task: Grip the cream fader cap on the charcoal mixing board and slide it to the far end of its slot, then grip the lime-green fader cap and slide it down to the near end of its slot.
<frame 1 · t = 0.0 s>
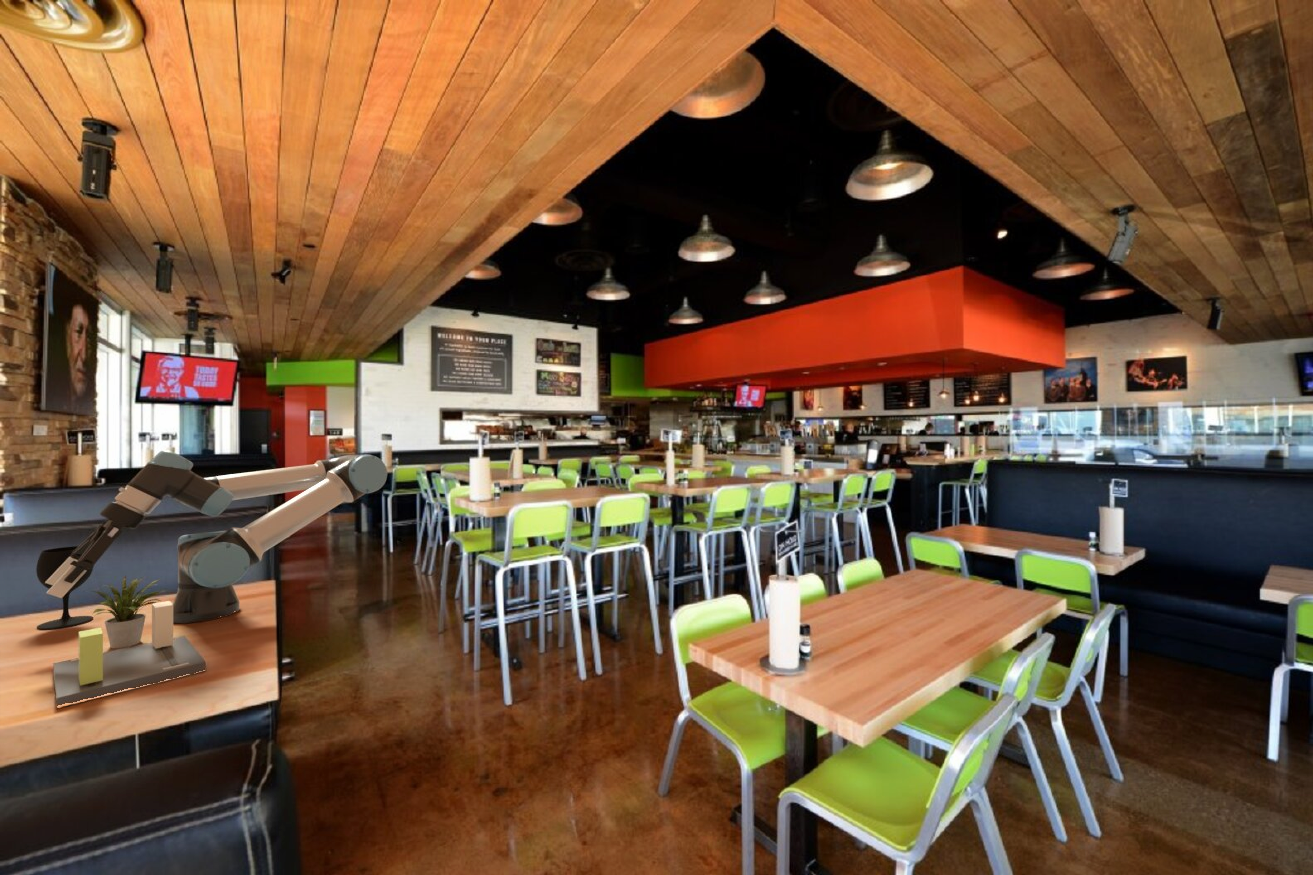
hand: (52, 590, 122), 15 cm above the table, tool tilted 35°, fingers open, 13 cm apart
house plant: (121, 646, 129), on the table
fader cream: (162, 624, 123), point 7 cm above the table, slide at -7.0 cm
wine glass: (65, 624, 146), on the table
mixing board: (129, 671, 114), on the table
fader lime: (90, 655, 105), point 7 cm above the table, slide at 7.0 cm
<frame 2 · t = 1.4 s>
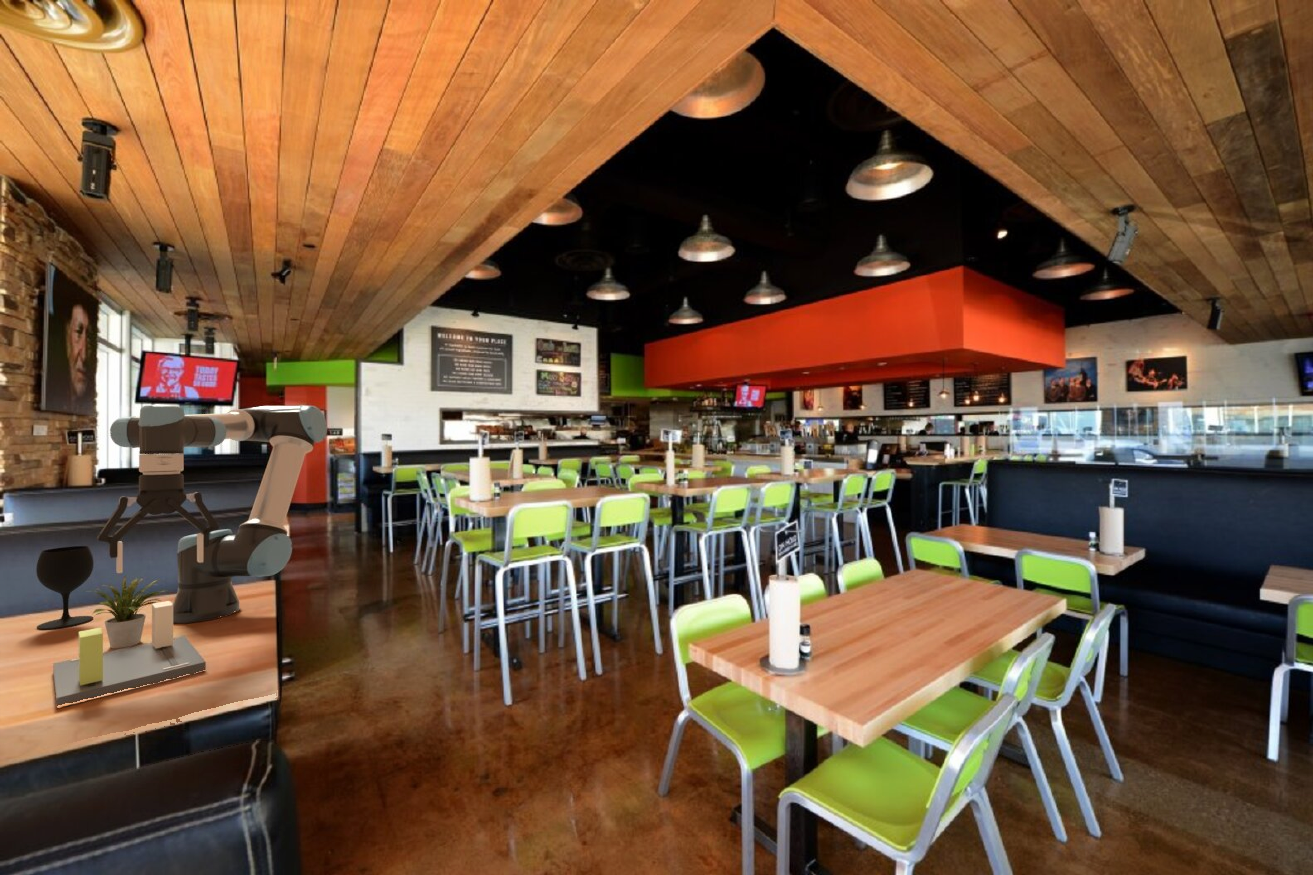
hand: (161, 566, 123), 20 cm above the table, tool pointing down, fingers open, 13 cm apart
nothing on the table moved.
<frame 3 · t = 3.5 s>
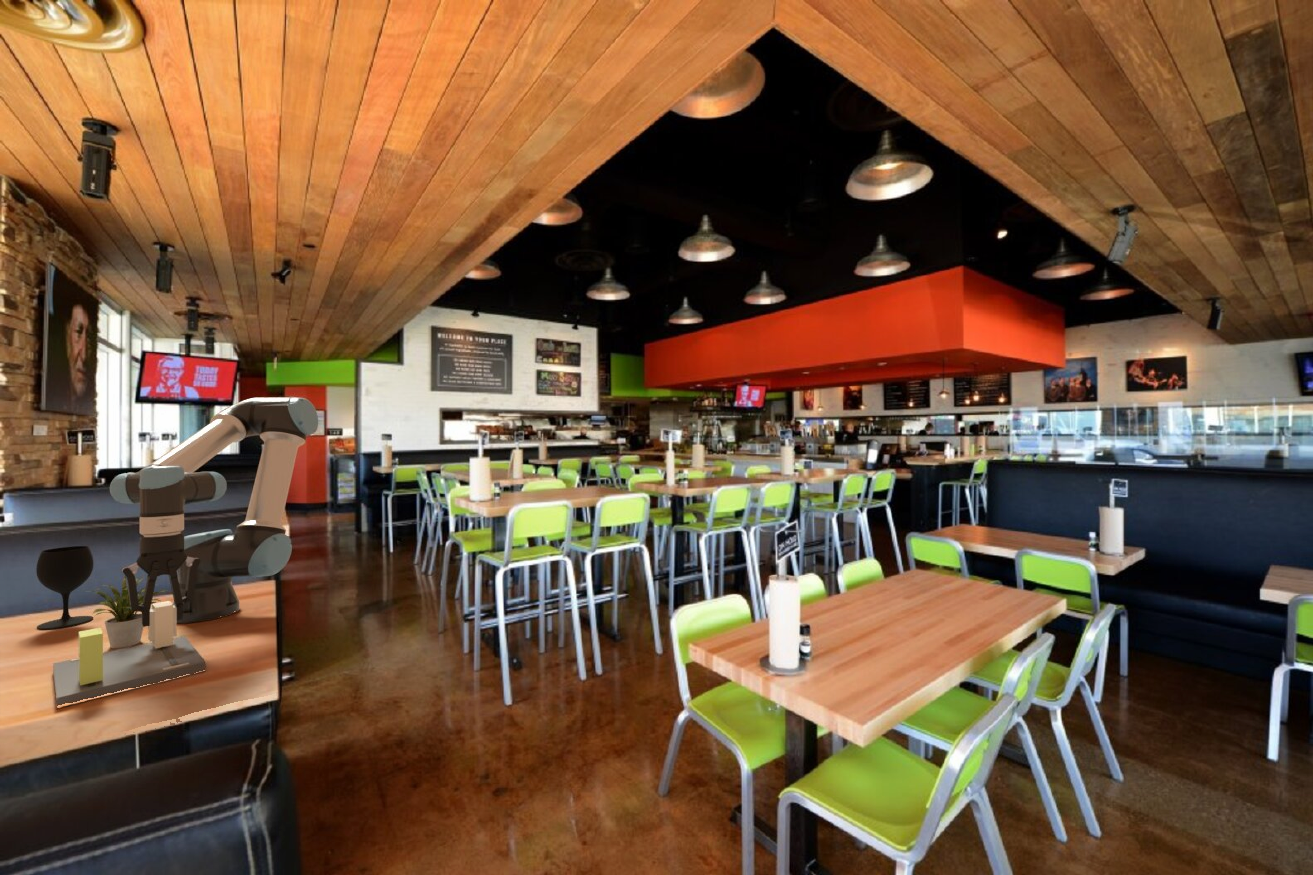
hand: (162, 637, 123), 4 cm above the table, tool pointing down, fingers closed on fader cream, 3 cm apart
fader cream: (162, 624, 123), point 7 cm above the table, slide at -7.0 cm, touching gripper
everything else where it was.
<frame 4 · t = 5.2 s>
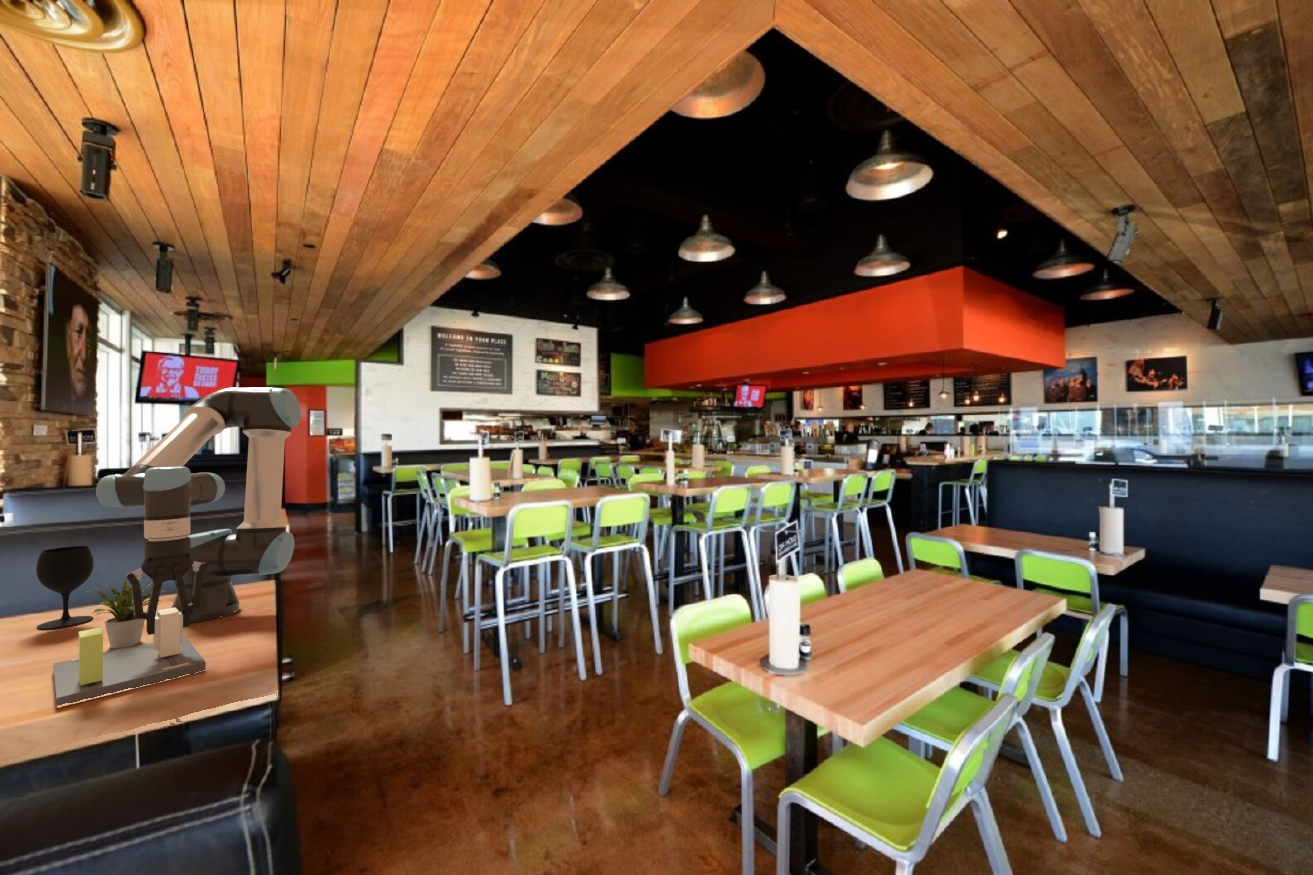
hand: (168, 645, 118), 4 cm above the table, tool pointing down, fingers closed on fader cream, 3 cm apart
fader cream: (168, 631, 118), point 7 cm above the table, slide at 0.9 cm, touching gripper
everything else where it was.
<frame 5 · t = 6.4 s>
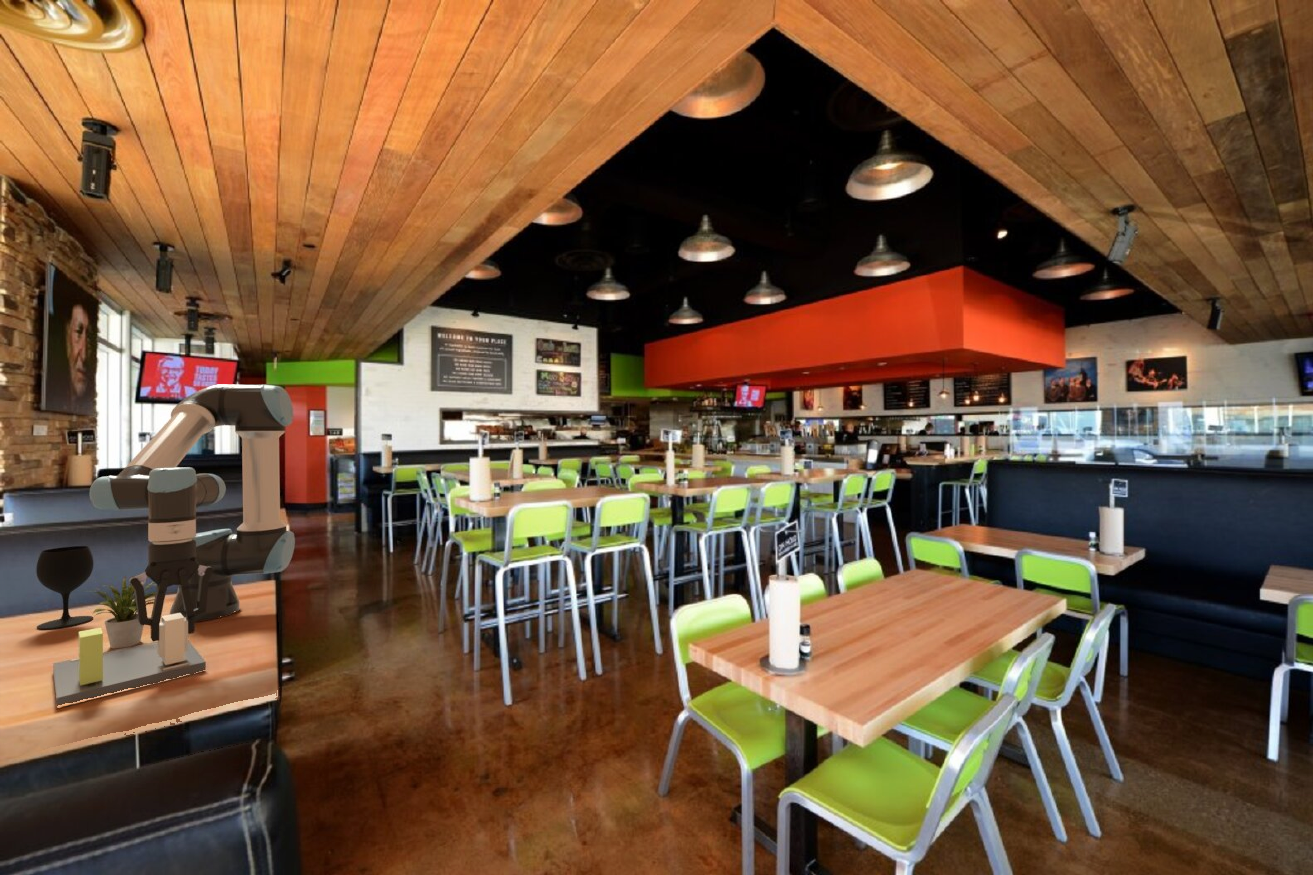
hand: (172, 652, 114), 4 cm above the table, tool pointing down, fingers closed on fader cream, 3 cm apart
fader cream: (172, 638, 114), point 7 cm above the table, slide at 6.9 cm, touching gripper
everything else where it was.
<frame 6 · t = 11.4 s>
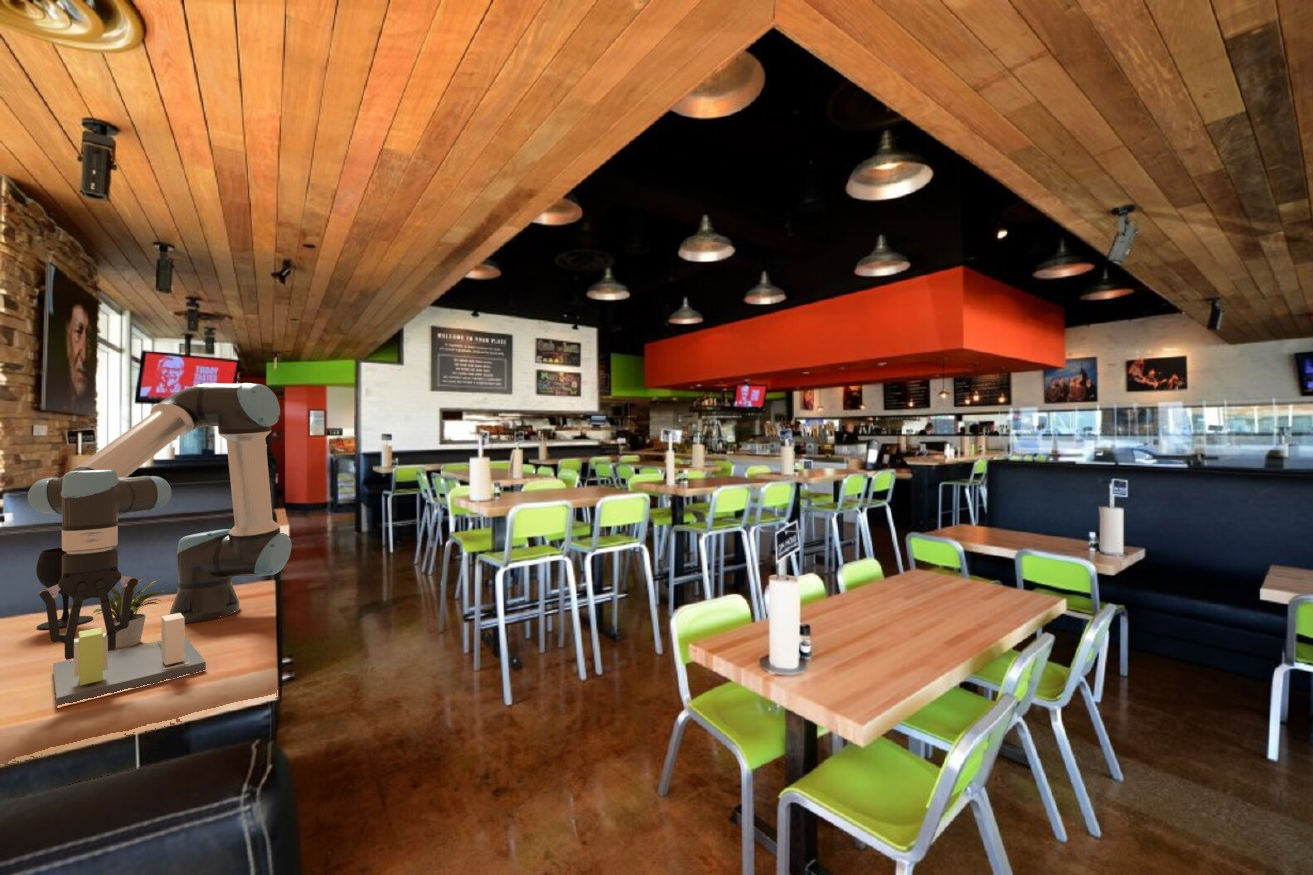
hand: (90, 671, 105), 4 cm above the table, tool pointing down, fingers closed on fader lime, 3 cm apart
fader cream: (173, 638, 114), point 7 cm above the table, slide at 6.9 cm
fader lime: (90, 655, 105), point 7 cm above the table, slide at 7.0 cm, touching gripper
everything else where it was.
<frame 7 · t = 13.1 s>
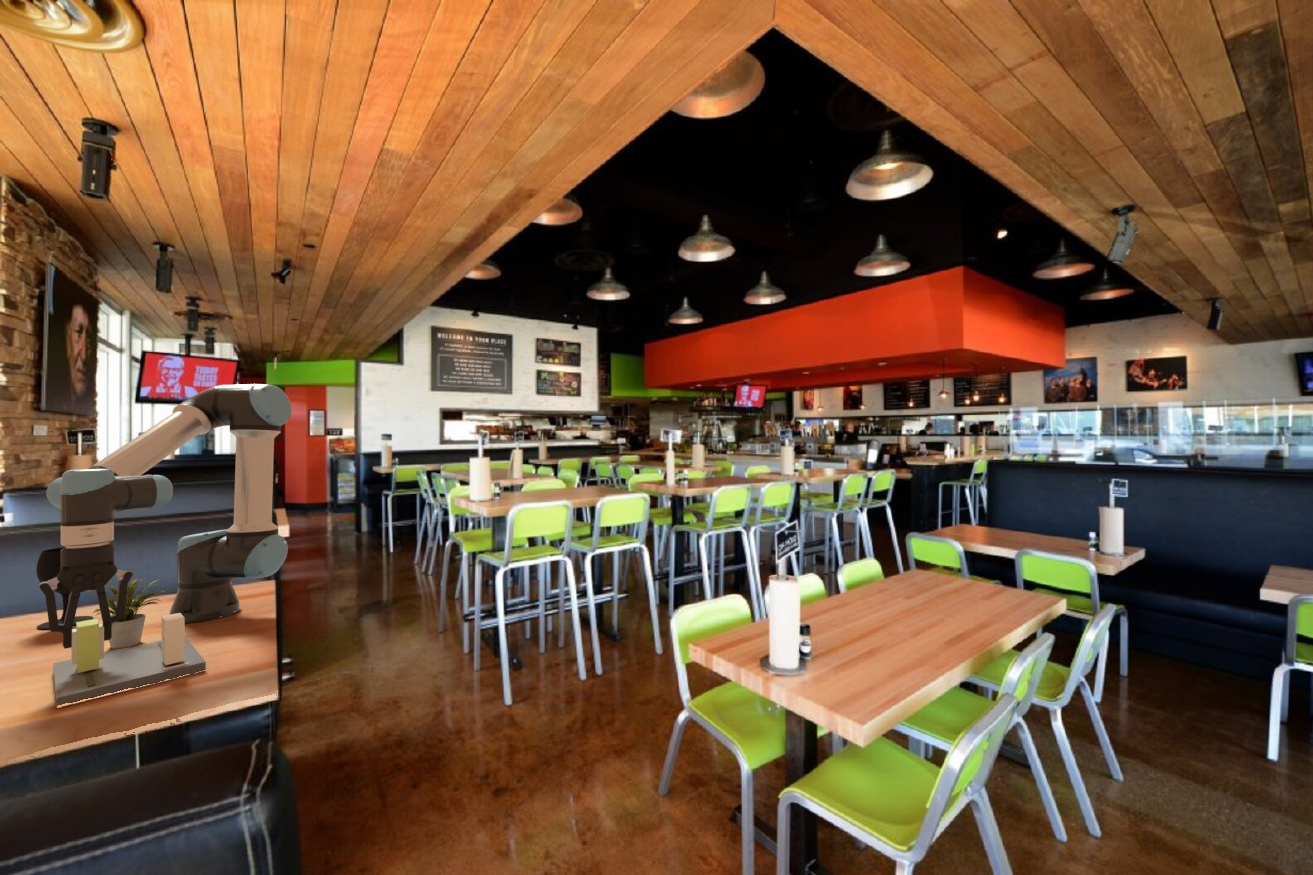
hand: (87, 659, 111), 4 cm above the table, tool pointing down, fingers closed on fader lime, 3 cm apart
fader lime: (87, 645, 111), point 7 cm above the table, slide at -1.6 cm, touching gripper
everything else where it was.
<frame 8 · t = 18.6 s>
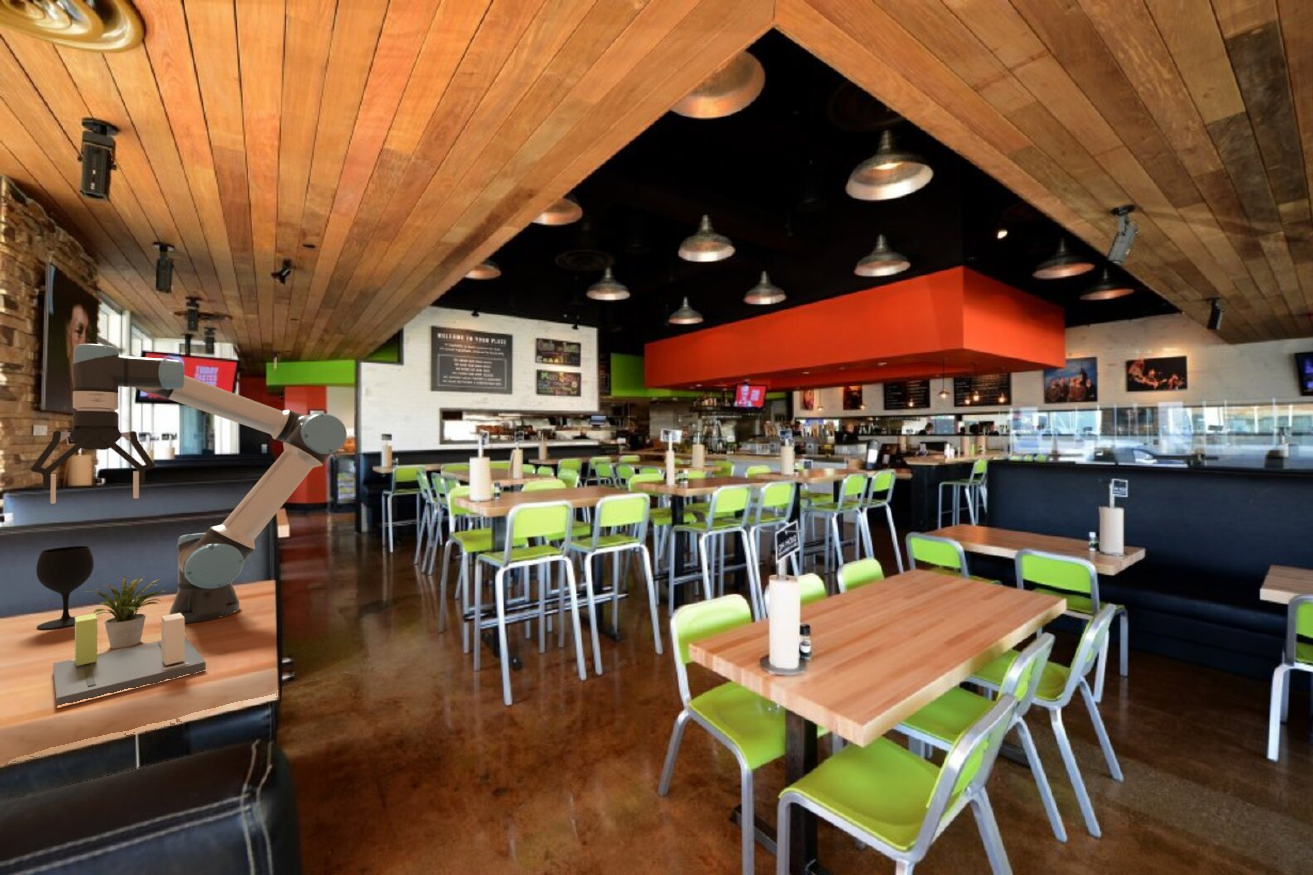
hand: (96, 500, 128), 35 cm above the table, tool pointing down, fingers open, 13 cm apart
fader lime: (85, 638, 114), point 7 cm above the table, slide at -7.0 cm
everything else where it was.
at the end: fader cream slide at 6.9 cm; fader lime slide at -7.0 cm; the gripper is holding nothing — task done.
